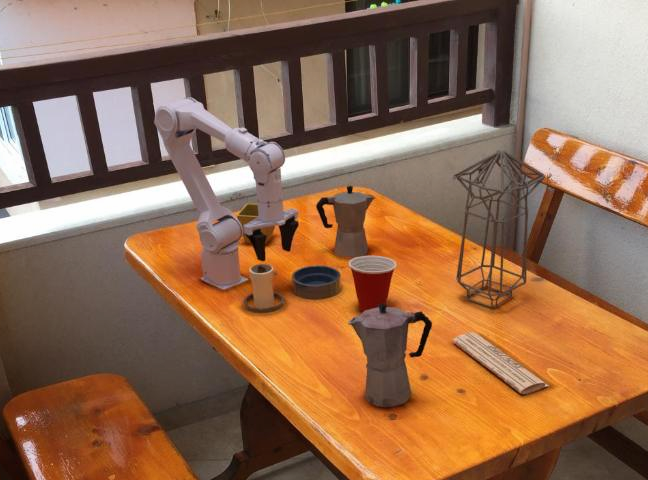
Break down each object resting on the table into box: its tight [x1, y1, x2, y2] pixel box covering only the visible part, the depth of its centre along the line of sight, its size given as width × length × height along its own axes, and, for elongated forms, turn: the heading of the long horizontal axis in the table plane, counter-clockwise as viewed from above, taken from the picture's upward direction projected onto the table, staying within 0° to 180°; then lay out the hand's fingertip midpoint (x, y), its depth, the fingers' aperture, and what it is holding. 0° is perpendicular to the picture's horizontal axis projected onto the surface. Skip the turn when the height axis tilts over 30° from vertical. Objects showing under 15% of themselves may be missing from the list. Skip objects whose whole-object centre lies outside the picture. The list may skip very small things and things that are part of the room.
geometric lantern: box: [452, 150, 546, 309], centre depth 193 cm, size 16×16×35 cm
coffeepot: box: [315, 185, 376, 259], centre depth 222 cm, size 15×9×18 cm, turn 103°
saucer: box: [242, 291, 285, 314], centre depth 201 cm, size 9×10×2 cm
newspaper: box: [452, 332, 550, 395], centre depth 176 cm, size 24×7×2 cm, turn 28°
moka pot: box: [348, 303, 433, 408], centre depth 162 cm, size 10×15×20 cm, turn 95°
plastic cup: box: [348, 255, 397, 313], centre depth 196 cm, size 11×11×12 cm
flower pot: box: [236, 203, 276, 245], centre depth 232 cm, size 9×9×9 cm
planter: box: [291, 264, 342, 300], centre depth 207 cm, size 12×12×4 cm
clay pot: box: [248, 263, 275, 308], centre depth 199 cm, size 6×6×9 cm
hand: (274, 255), depth 201 cm, fingers open, 7 cm apart
